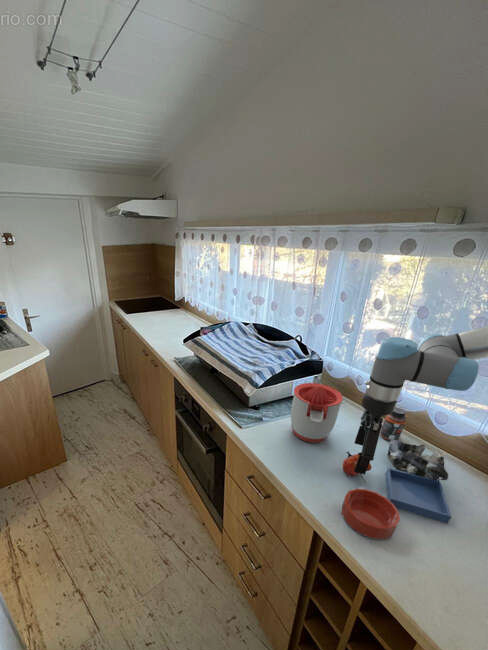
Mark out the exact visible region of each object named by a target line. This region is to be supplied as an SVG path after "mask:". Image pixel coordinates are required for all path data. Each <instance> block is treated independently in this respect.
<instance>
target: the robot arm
mask: <svg viewBox="0 0 488 650" xmlns="http://www.w3.org/2000/svg"><path fill="white" fill-rule="evenodd" d="M485 358H488V325H485V326H483V327H479V328H478V327H477V328H475V329H470V330H467V331H462V332H459V333H458V332H457V333H453V334H449V335H443V334H431V335H428V336H426V337H424V338H423V339H422V340H421V341H420V343H419V344H418V343H417V342H416V341H414V340H412V339H409V338H405V337H401V336H389V337H386V338H384V339H383V340H382V341H381V343H380V345H379V347H378V350H377V353H376V355H375V358H374V362H373V365H372V369H371V371H370V375H369V378H368V381H367V380H366V381H365V382H364V384H365V385H366V388H365V392H364V394H363V396H362V400H361V407H362V408H363V409H364V411H363V413H362V415H361V417H360V425H359V427H358V430H357V434H356V437H355V439H354V445H358V446H362V447H361V452H358V453H357V454H358V455H359V458H358V460H357V463H356V466H355V469H354V472H356V473H360V474H362V476H364V475H366V474H367V472H368V471H367V468H368V466H369V463H370V464H371V461H372V462H373V461H374V460H375V459H374V458H375V454H376V450H377V446H378V442H379V437H380V432H381V429H382V426H383V423H384V421H383V420H384V418H383V417H384V416H386V415H389V414H391V413H392V412H393V410H394V408H396V405H397V402H398V401H397V400H399V398H400V395H401V392H402V390H403V387H404V384H405V382H406V381H407V382H411V383H418V384H423V385H428V386H432V387H436V388H442V389H445V390H452V391H459V392H465V391H468V390H470V389H471V388H472V386H473V385H474V384H475V382H476V379H477V377H478V374H479V368H480V366H479V363H478V361H476V360H481V359H485ZM360 474H359V475H360Z"/></svg>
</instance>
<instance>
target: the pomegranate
mask: <svg viewBox="0 0 488 650" xmlns="http://www.w3.org/2000/svg"><path fill="white" fill-rule="evenodd" d="M345 453H346V454H347V457H346V458H345V459H343V461H342V471H343V472H344V474H346V475H347V476H348V477H350V478H352V477H354V476H355V477H356V476H358V475H360V478H361V479H362V480H363V482H364V483H365V484H367V482H366V480H365V478H364V475H363V474H360V473H356V472H354V469H355V466H356V463H357V460H358V458H359V455H358V453H356V454H351V453H350V452H349V451H345ZM372 467H373V466H372V464H371V462H370V463H369V466H368V468H367V471H366V472H369V471H371V470H372Z"/></svg>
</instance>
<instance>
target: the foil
mask: <svg viewBox="0 0 488 650" xmlns="http://www.w3.org/2000/svg"><path fill="white" fill-rule="evenodd" d="M426 448H427V450H429V451H430V452H432V454H431V455H425V454H423V453H424V451H425V450H426ZM438 452H439V455H438V453H437V452H434V450H433V451H432V449H430V448H429V447H428V446H426V444H419V445H418V444H409V443H404V442H402V441H399V440H394V439H391V441H389V446H388V449H387V459H388V460H389V461H390V462H391V464H392V466H393V467H394V468H395V469H396V470H405V471H406V472H407V473H410V474H414V475H418V476H421V477H425V478H429V479H433V480H436V481H440V482H441V481H448V479H449V473H448V471H447V470H446V468H445V462H446V461H445V457H444V456H443V455H442V453H441V451H440V450H438ZM422 454H423V455H422Z"/></svg>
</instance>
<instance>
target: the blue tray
mask: <svg viewBox="0 0 488 650" xmlns="http://www.w3.org/2000/svg"><path fill="white" fill-rule="evenodd" d="M384 477H385V486H386V495H387V497H386V498H387V499H388V500H389V501H390V502H391V503H393V504H394V506H395V507H396V509H397V510H402V511H405V512H409V513H411V514H415V515H418V516H422V517H425V518H429V519H432V520H434V521H438V522H441V523H444V524H447V525H448V524H449V522H450V520H451V519H452V518H453V517H452V514H451V511H450V510H451V509H450V508H449V504H448V501H447V498H446V494H445V491H444V488H443V485H442V481H441V480H440V481H436V480H433V479H429V478H425V477H421V476H418V475H414V474H410V473H409V472H407V471H402V470H400V469H396V468H391V467H387V468H386V470H385V472H384Z"/></svg>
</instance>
